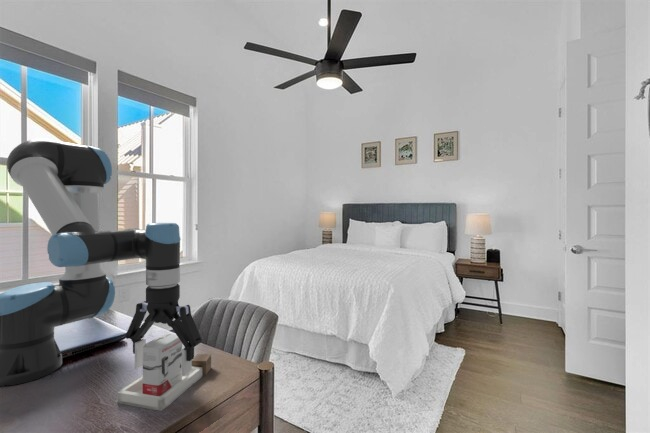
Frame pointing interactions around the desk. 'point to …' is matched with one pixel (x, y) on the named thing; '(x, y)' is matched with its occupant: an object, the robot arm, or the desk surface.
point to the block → (202, 362)
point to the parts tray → (137, 398)
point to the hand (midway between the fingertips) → (163, 369)
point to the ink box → (162, 364)
